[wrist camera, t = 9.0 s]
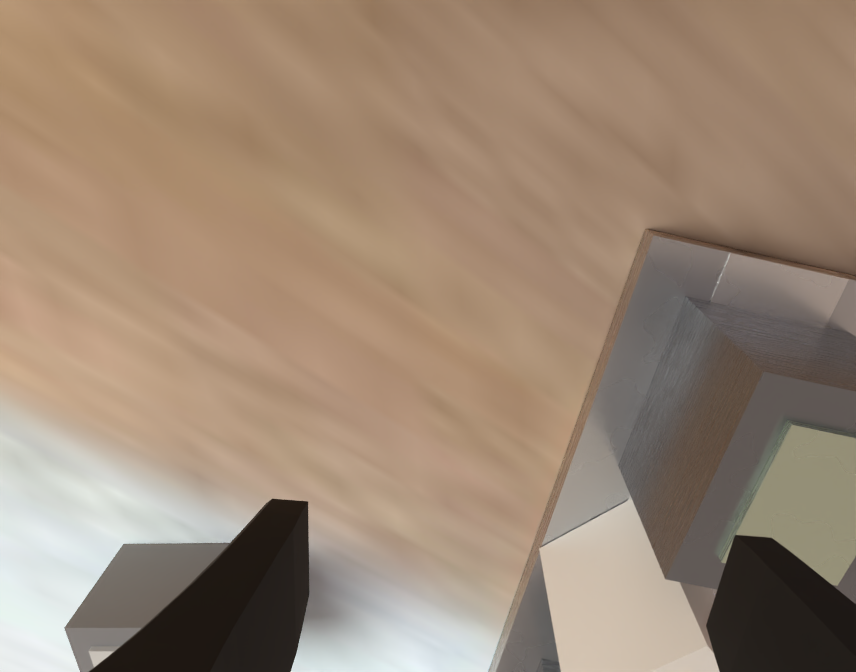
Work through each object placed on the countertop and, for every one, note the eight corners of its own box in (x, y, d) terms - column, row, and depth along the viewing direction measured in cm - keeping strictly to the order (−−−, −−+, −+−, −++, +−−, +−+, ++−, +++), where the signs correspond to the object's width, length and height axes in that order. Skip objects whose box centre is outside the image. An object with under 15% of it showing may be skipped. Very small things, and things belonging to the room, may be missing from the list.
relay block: (254, 540, 24) (215, 632, 20) (269, 620, 25) (235, 720, 21) (124, 542, 24) (61, 633, 20) (147, 620, 25) (92, 719, 21)
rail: (904, 286, 19) (1093, 376, 13) (633, 788, 28) (677, 964, 22) (645, 228, 18) (728, 296, 13) (458, 756, 28) (459, 927, 22)
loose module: (640, 493, 21) (710, 652, 15) (711, 588, 22) (800, 766, 17) (539, 548, 22) (568, 716, 16) (612, 635, 23) (664, 818, 18)
